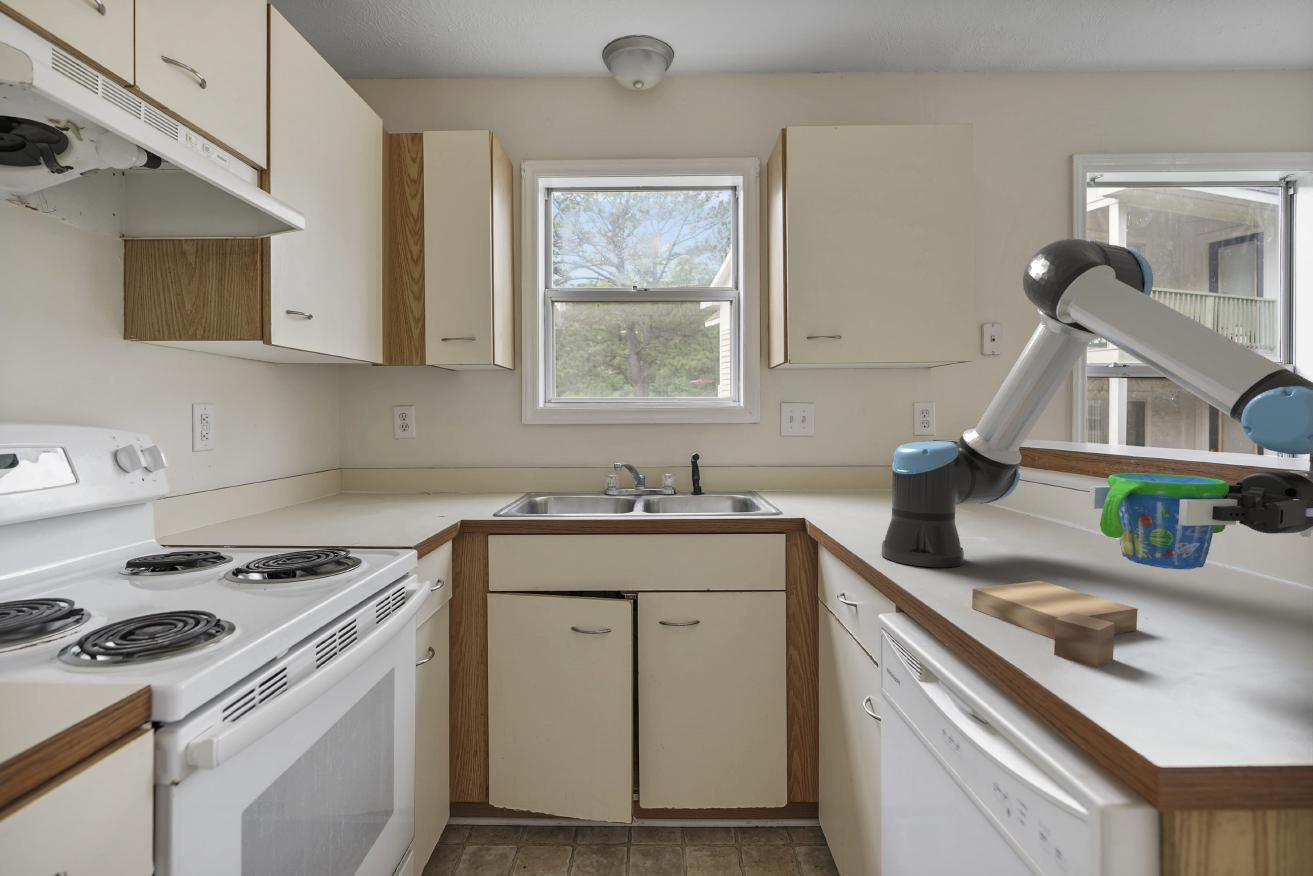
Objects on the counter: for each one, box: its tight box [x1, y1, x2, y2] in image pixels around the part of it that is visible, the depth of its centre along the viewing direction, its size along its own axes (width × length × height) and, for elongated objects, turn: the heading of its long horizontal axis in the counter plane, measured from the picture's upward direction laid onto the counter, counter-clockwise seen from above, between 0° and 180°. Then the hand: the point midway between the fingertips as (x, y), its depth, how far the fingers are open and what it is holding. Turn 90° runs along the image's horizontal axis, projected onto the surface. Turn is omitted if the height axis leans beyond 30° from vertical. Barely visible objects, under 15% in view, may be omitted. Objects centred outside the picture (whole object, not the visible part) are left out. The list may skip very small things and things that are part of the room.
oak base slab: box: [971, 580, 1139, 640], centre depth 86 cm, size 14×14×3 cm
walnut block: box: [1053, 612, 1115, 669], centre depth 72 cm, size 4×4×4 cm
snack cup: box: [1099, 472, 1230, 570], centre depth 71 cm, size 16×10×10 cm
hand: (1133, 504), depth 70 cm, fingers closed on snack cup, 10 cm apart
